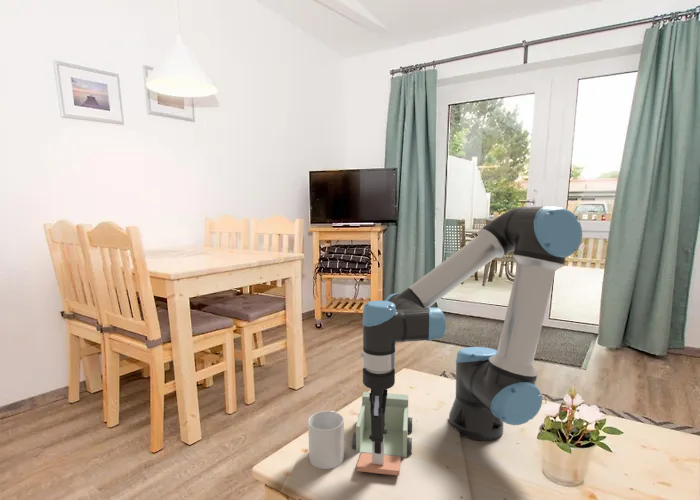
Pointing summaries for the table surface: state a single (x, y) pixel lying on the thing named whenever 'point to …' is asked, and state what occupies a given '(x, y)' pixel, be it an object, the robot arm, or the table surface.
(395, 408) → the truck bed
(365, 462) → the panel
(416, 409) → the table surface
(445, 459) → the table surface
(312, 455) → the mug
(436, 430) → the table surface
